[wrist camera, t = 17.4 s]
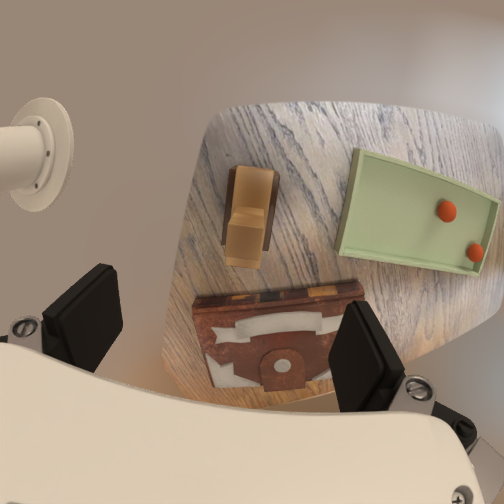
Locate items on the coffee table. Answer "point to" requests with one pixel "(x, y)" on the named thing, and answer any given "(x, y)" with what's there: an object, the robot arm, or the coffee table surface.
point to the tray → (412, 216)
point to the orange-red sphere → (475, 252)
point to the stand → (270, 211)
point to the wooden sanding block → (248, 216)
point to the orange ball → (447, 211)
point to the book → (272, 335)
